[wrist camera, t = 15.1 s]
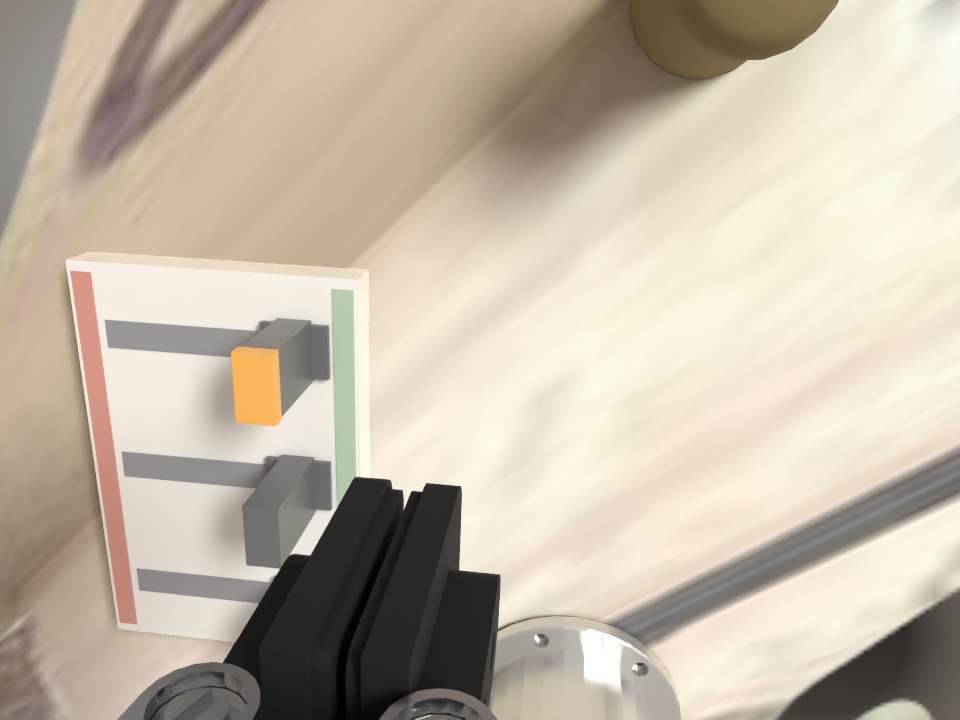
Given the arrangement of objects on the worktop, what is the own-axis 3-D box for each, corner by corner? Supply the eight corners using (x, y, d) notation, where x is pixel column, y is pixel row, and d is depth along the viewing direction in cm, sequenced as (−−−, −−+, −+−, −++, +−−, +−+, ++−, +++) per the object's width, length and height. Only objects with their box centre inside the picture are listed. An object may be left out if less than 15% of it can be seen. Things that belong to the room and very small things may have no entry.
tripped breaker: (328, 320, 35) (290, 356, 31) (330, 383, 36) (293, 427, 32) (261, 315, 36) (212, 350, 31) (265, 377, 37) (218, 421, 32)
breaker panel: (368, 269, 37) (357, 279, 35) (371, 632, 44) (362, 657, 42) (90, 251, 38) (64, 259, 36) (136, 606, 45) (117, 629, 43)
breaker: (331, 457, 38) (296, 511, 33) (332, 511, 39) (298, 570, 34) (267, 452, 38) (224, 504, 33) (270, 505, 39) (229, 563, 34)
